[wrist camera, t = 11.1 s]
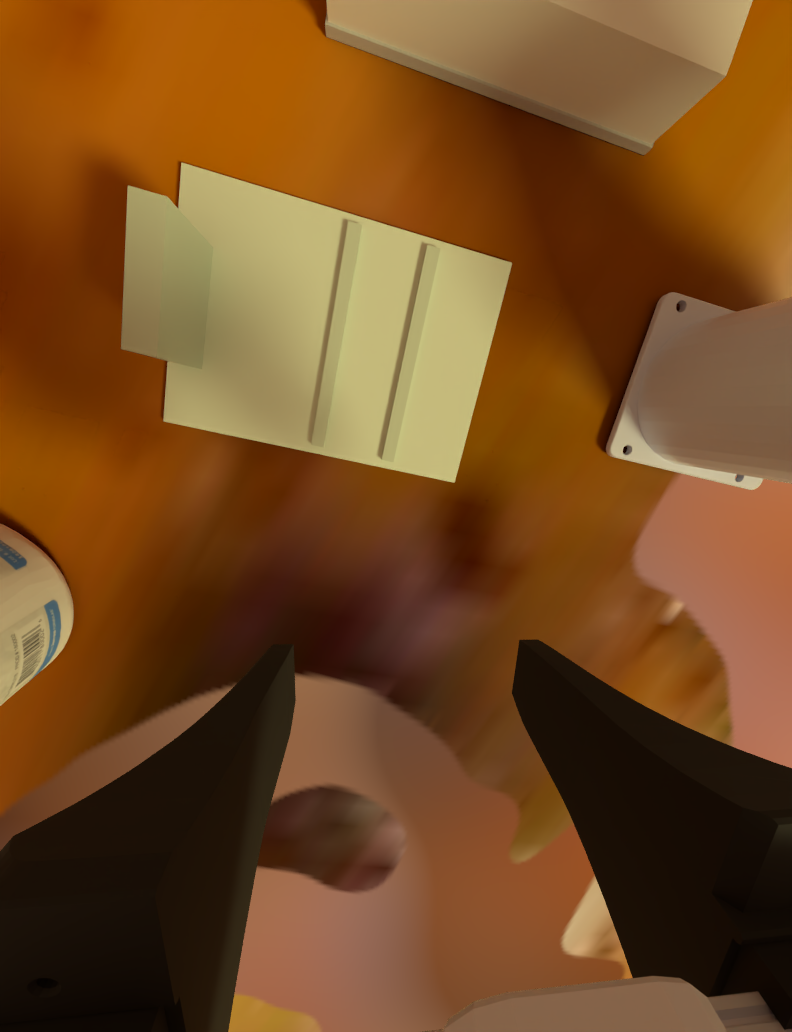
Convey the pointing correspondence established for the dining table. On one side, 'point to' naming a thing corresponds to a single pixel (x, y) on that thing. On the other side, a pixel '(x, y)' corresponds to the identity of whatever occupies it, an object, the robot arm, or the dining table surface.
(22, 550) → the supplement tub
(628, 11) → the block
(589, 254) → the dining table surface
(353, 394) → the lid
